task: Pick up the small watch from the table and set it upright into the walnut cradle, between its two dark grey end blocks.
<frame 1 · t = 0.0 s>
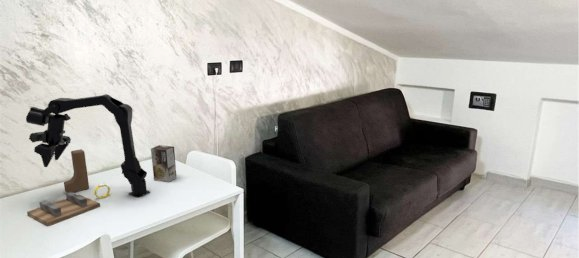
hand: (51, 163, 160), 15 cm above the table, tool pointing down, fingers open, 9 cm apart
cradle: (64, 210, 151), on the table
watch: (103, 197, 164), on the table
wooden block: (77, 190, 172), on the table
coffee box: (165, 179, 185), on the table
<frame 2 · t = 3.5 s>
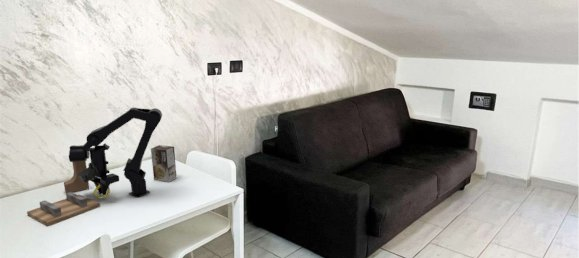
hand: (102, 194, 164), 1 cm above the table, tool pointing down, fingers closed on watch, 2 cm apart
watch: (103, 197, 164), on the table, touching gripper
everything else where it was.
when the fingers open (4 cm above the table, at t = 7.6 s): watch drops 1 cm, resting on cradle.
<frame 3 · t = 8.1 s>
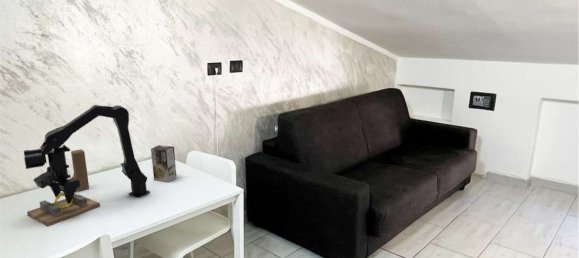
hand: (63, 200, 150), 4 cm above the table, tool pointing down, fingers open, 8 cm apart
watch: (64, 207, 151), point 1 cm above the table, touching cradle
everything else where it was.
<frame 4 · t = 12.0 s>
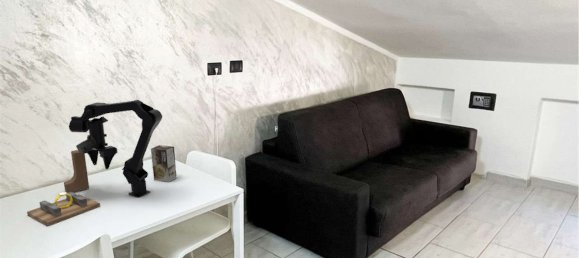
hand: (101, 167, 166), 12 cm above the table, tool pointing down, fingers open, 9 cm apart
nothing on the table moved.
at the end: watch 0.1 cm off-centre on the cradle, point 1.3 cm above the cradle's base; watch tilted 0°; the gripper is holding nothing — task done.
